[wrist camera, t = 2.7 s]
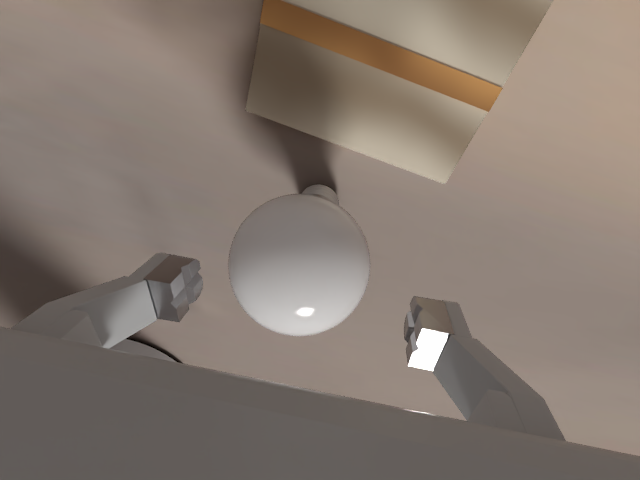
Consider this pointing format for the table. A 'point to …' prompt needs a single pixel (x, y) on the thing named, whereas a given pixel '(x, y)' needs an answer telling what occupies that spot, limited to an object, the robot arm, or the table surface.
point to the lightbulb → (299, 263)
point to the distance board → (389, 72)
